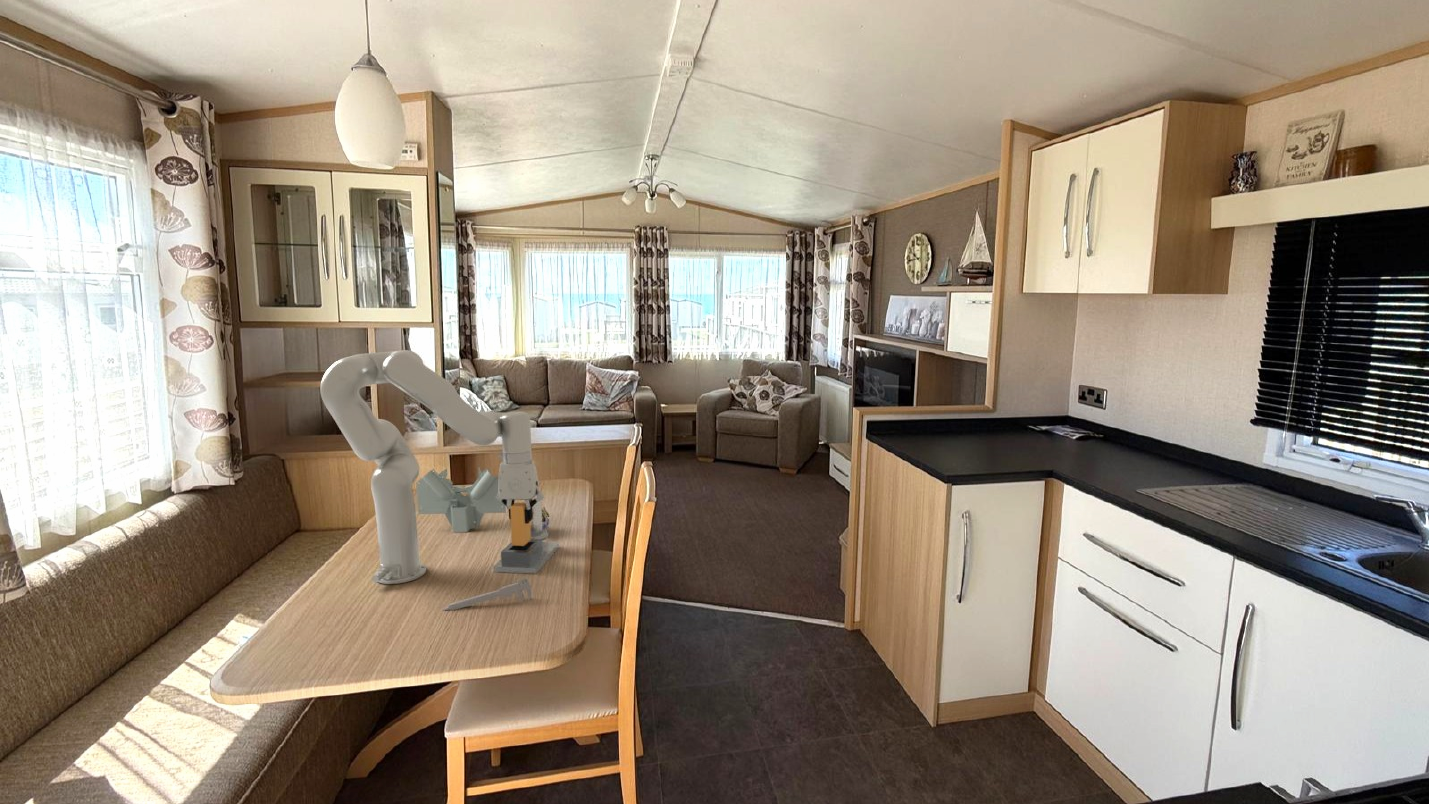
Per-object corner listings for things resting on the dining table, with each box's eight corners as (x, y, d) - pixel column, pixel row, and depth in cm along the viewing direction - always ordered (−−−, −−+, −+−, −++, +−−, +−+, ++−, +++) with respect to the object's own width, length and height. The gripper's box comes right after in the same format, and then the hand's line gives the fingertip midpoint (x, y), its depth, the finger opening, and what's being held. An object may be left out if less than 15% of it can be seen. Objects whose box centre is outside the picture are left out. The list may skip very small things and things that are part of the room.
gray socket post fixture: (536, 573, 181) (533, 518, 179) (493, 571, 183) (490, 517, 180) (559, 547, 200) (557, 497, 198) (520, 545, 201) (518, 496, 199)
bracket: (509, 523, 220) (506, 464, 217) (503, 531, 213) (500, 470, 210) (424, 525, 219) (419, 465, 215) (415, 533, 212) (410, 471, 208)
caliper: (531, 599, 167) (530, 575, 166) (531, 601, 166) (530, 577, 165) (443, 610, 161) (442, 585, 160) (443, 612, 160) (441, 587, 159)
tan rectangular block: (524, 545, 183) (522, 506, 182) (511, 545, 183) (510, 506, 182) (530, 540, 188) (529, 501, 187) (518, 539, 188) (517, 501, 187)
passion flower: (544, 551, 211) (547, 529, 203) (509, 546, 210) (510, 524, 202) (551, 522, 219) (553, 499, 211) (517, 517, 218) (518, 494, 210)
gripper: (482, 460, 180) (486, 525, 183) (542, 461, 178) (545, 527, 181) (494, 453, 187) (498, 516, 190) (551, 454, 185) (554, 518, 188)
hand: (521, 521), depth 185 cm, fingers closed on tan rectangular block, 3 cm apart
